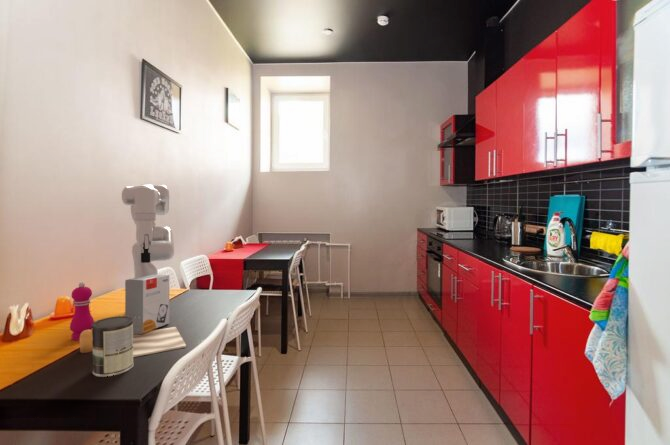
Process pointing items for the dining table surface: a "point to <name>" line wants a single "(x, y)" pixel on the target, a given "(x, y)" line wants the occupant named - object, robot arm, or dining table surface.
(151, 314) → the hard drive box
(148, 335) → the board
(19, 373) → the dining table surface
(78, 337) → the pepper mill
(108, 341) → the coffee can
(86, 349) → the salt shaker
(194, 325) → the dining table surface
